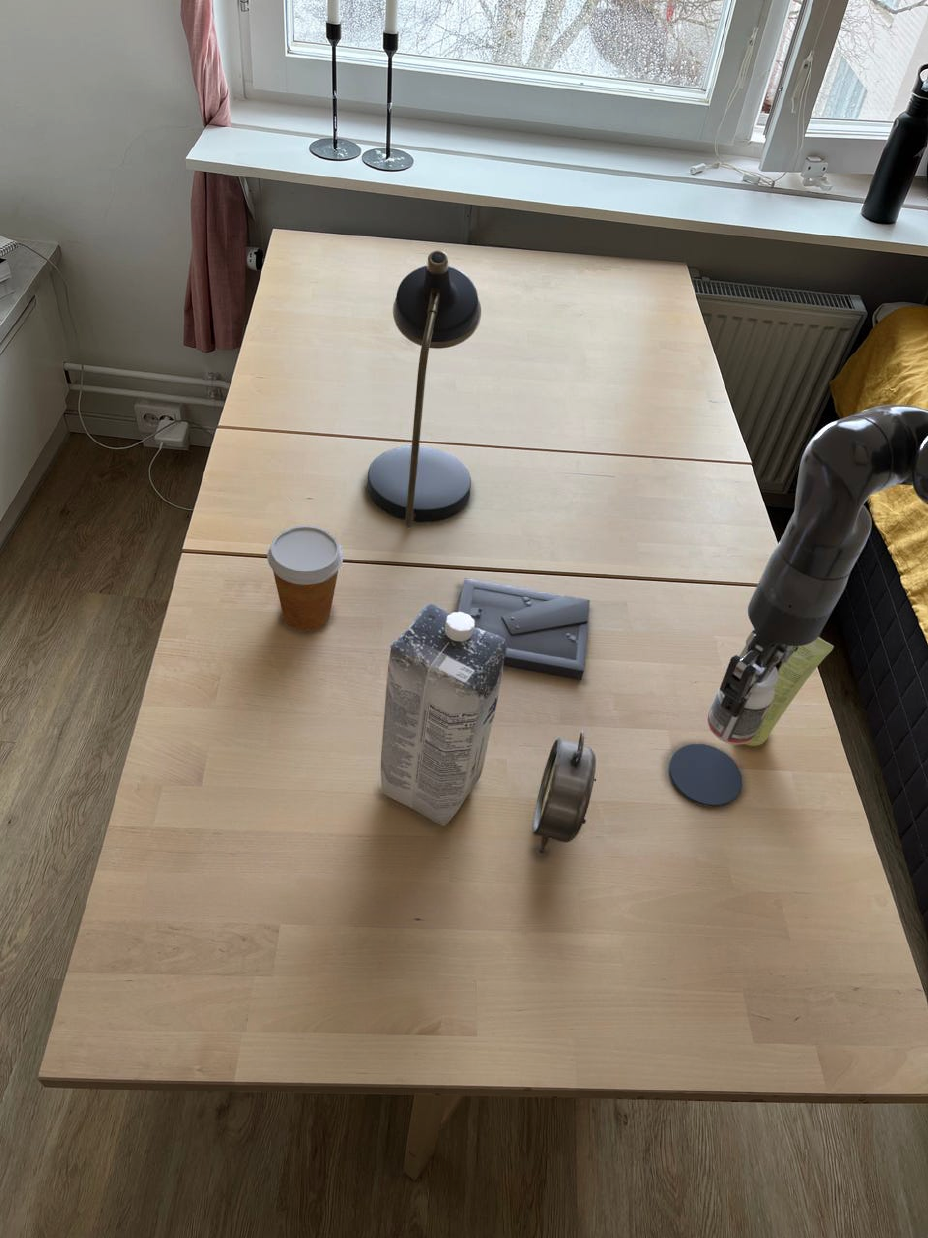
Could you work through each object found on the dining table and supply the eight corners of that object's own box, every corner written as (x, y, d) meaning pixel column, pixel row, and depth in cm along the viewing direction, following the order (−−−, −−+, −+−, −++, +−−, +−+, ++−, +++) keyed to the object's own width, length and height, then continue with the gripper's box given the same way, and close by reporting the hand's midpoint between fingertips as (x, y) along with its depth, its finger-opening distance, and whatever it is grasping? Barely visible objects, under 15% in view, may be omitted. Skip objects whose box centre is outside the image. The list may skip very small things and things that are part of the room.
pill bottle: (759, 719, 112) (789, 663, 105) (748, 754, 109) (778, 698, 102) (712, 700, 114) (738, 643, 107) (699, 733, 110) (725, 677, 103)
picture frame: (587, 609, 136) (463, 587, 137) (590, 598, 135) (464, 576, 135) (581, 680, 127) (448, 656, 127) (584, 669, 125) (450, 645, 126)
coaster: (755, 778, 119) (756, 776, 119) (714, 820, 114) (715, 818, 114) (696, 733, 123) (697, 731, 123) (654, 772, 118) (655, 770, 118)
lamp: (475, 461, 157) (508, 230, 130) (461, 549, 142) (495, 309, 114) (377, 446, 157) (389, 211, 130) (352, 533, 142) (360, 288, 114)
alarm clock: (540, 778, 116) (564, 692, 104) (584, 789, 115) (614, 704, 103) (525, 857, 108) (550, 774, 96) (573, 869, 108) (603, 787, 96)
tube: (766, 717, 126) (822, 613, 112) (775, 748, 123) (834, 646, 108) (724, 715, 125) (775, 610, 111) (732, 746, 122) (786, 643, 108)
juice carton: (448, 839, 109) (476, 686, 89) (369, 795, 111) (379, 637, 92) (485, 783, 114) (519, 628, 95) (410, 743, 117) (427, 584, 98)
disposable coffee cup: (256, 622, 128) (251, 556, 119) (295, 579, 134) (293, 513, 126) (318, 650, 126) (318, 584, 117) (355, 605, 132) (357, 539, 123)
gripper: (794, 645, 90) (738, 752, 102) (867, 577, 97) (807, 684, 110) (727, 600, 93) (680, 709, 105) (803, 538, 101) (751, 646, 113)
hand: (745, 696), depth 107 cm, fingers closed on pill bottle, 5 cm apart
